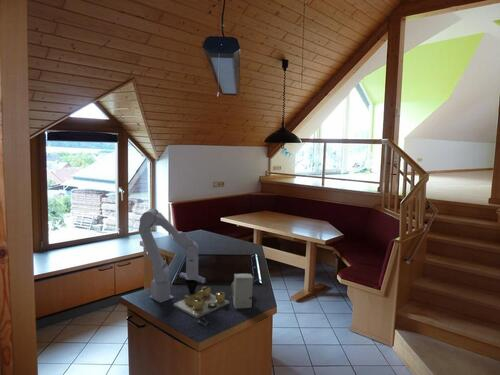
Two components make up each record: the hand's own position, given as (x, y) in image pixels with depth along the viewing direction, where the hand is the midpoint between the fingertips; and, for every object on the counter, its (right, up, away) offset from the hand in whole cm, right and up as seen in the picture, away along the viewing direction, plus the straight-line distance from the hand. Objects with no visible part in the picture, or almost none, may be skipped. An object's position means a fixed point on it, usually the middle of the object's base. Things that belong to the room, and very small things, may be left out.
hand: (192, 294), depth 174 cm
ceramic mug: (+23, -3, +4) cm, 24 cm away
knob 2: (+2, -2, -10) cm, 11 cm away
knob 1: (+4, -1, -2) cm, 5 cm away
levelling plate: (+5, -3, -6) cm, 9 cm away
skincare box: (+25, -4, -6) cm, 26 cm away
